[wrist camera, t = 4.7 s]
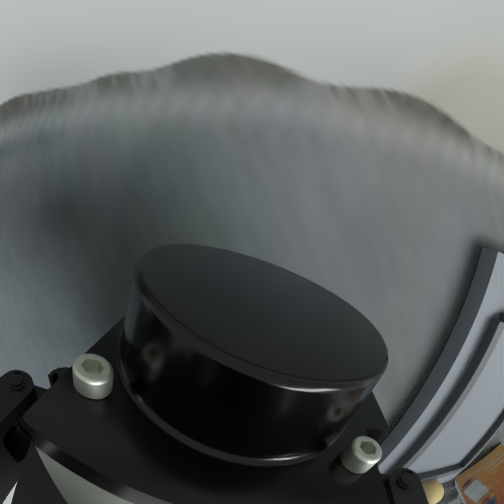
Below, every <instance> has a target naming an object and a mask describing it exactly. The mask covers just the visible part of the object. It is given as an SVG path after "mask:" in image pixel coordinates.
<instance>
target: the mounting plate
mask: <svg viewBox="0 0 504 504" xmlns="http://www.w3.org/2000/svg"><path fill="white" fill-rule="evenodd" d="M503 425H504V254H502V253H500V252H498V251H496V250H492V249H489V248H486V247H482V251H481V255H480V258H479V262H478V265H477V268H476V271H475V275H474V278H473V281H472V284H471V286H470V289H469V292H468V295H467V297H466V300H465V303H464V305H463V308H462V310H461V313H460V315H459V317H458V320H457V322H456V324H455V327H454V329H453V331H452V333H451V335H450V337H449V340H448V342H447V344H446V346H445V348H444V350H443V352H442V354H441V356H440V357H439V359H438V361H437V363H436V365H435V367H434V368H433V370H432V372H431V374H430V375H429V377H428V379H427V381H426V382H425V384H424V386H423V387H422V389H421V390H420V392H419V394H418V395H417V397H416V398H415V400H414V401H413V403H412V404H411V406H410V407H409V409H408V410H407V412H406V413H405V414H404V416H403V417H402V419H401V420H400V421H399V423H398V424H397V425H396V427H395V428H394V429H393V431H392V432H391V433H390V434H389V436H388V437H387V438H386V439H385V441H384V442H383V443H382V444H381V446H380V447H381V449H382V456H381V459H380V460H379V461H378V462H377V465H378V468H379V471H380V473H381V474H386V475H390V474H391V473H392V472H393V471H394V470H395V469H398V468H408V469H410V470H413V471H414V472H415V473H416V474H417V475H418V476H419V478H420V480H421V483H422V486H423V488H424V491H425V494H426V497H427V500H428V503H429V504H436V503H437V502H439V501H440V500H441V499H442V497H443V494H444V489H443V486H442V484H441V483H444V482H447V481H450V480H452V479H453V478H455V477H456V476H457V475H458V474H459V473H460V472H461V471H462V470H463V469H465V468H466V467H467V466H468V465H469V464H470V463H471V462H472V461H473V460H474V459H475V458H476V457H477V456H478V455H479V454H480V452H481V451H482V450H483V449H484V448H485V447H486V446H487V445H488V443H489V442H490V441H491V440H492V439H493V437H494V436H495V435H496V434H497V432H498V431H499V430H500V429H501V427H502V426H503Z"/></svg>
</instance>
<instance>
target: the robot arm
mask: <svg viewBox="0 0 504 504" xmlns="http://www.w3.org/2000/svg"><path fill="white" fill-rule="evenodd" d="M68 369H69V368H67V367H63V368H57V369H55V370H53V371H52V372H51V373H50V374H49V375H48V377H49V381H50V385H51V386H52V385H53V384H54V383H55V382H56V381H57V380H58V379H59V378H60V377H61V376H62V375H63V374H64V373H65V372H66V371H67V370H68ZM46 391H47V389H44V388H41V387H38V386H35V385H34V383H33V380H32V378H31V377H30V375H29V374H28V373H26V372H24V371H20V370H12V371H9V372H7V373H5V374H4V375H3V376H2V377H0V504H2V503H3V502H4V500H5V499H6V497H7V496H8V494H9V493H10V491H11V490H12V488H13V487H14V485H15V484H16V482H17V481H18V482H17V485H16V488H15V492H14V495H13V499H12V503H11V504H67V502H66V501H65V499H64V498H63V496H62V494H61V493H60V491H59V490H58V488H57V486H56V485H55V483H54V481H53V480H52V478H51V476H50V474H49V473H48V471H47V469H46V467H45V465H44V463H43V461H42V459H41V457H40V455H39V453H38V451H37V449H36V447H35V445H34V443H33V441H32V438H31V436H30V434H29V431H28V429H27V426H26V424H25V421H24V418H23V417H24V414H25V413H26V412H27V411H28V410H29V408H30V407H31V406H32V405H33V404H34V403H35V402H36V401H37V400H38V399H39V398H40V397H41V396H42V395H43V394H44V393H45V392H46ZM380 474H381V473H380ZM381 477H382V480H383V483H384V486H385V490H386V493H387V496H388V499H389V503H390V504H429V503H428V500H427V497H426V494H425V491H424V488H423V486H422V483H421V480H420V478H419V476H418V475H417V474H416V473H415V472H414V471H413V470H410V469H408V468H398V469H395V470H394V471H393V472H392V473H391V474H390V475H386V474H381Z"/></svg>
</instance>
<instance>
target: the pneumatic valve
mask: <svg viewBox="0 0 504 504" xmlns="http://www.w3.org/2000/svg"><path fill="white" fill-rule="evenodd" d="M387 364H388V350H387V347H386V344H385V342H384V339H383V338H382V336H381V334H380V333H379V331H378V330H377V329H376V328H375V326H374V325H373V324H372V323H371V322H370V321H369V320H368V319H367V318H366V317H365V316H364V315H363V314H361V313H360V312H359V311H358V310H357V309H355V308H354V307H353V306H351V305H350V304H349V303H347V302H346V301H344V300H343V299H341V298H340V297H338V296H337V295H335V294H333V293H332V292H330V291H328V290H327V289H325V288H323V287H321V286H320V285H318V284H316V283H314V282H312V281H310V280H308V279H306V278H304V277H302V276H300V275H297V274H295V273H293V272H291V271H288V270H286V269H284V268H281V267H279V266H276V265H274V264H271V263H268V262H265V261H263V260H260V259H257V258H254V257H250V256H247V255H243V254H240V253H236V252H232V251H228V250H224V249H219V248H214V247H208V246H201V245H191V244H176V245H166V246H161V247H158V248H155V249H152V250H150V251H148V252H147V253H145V254H144V255H143V256H142V257H141V258H140V259H139V261H138V262H137V264H136V266H135V269H134V274H133V279H132V284H131V289H130V295H129V300H128V306H127V311H126V316H125V317H124V318H123V319H122V320H120V321H119V322H118V323H117V324H116V325H115V326H114V327H113V328H112V329H111V330H110V331H108V332H107V333H106V334H105V335H104V336H103V337H102V338H101V339H100V340H99V341H98V342H97V343H96V344H95V345H93V346H92V347H91V348H90V349H89V350H88V351H87V352H86V353H85V354H82V355H80V356H78V357H77V358H76V359H75V360H74V362H73V365H72V366H71V367H70V368H69V369H68V370H67V371H66V372H65V373H64V374H63V375H62V376H61V377H60V378H59V379H58V380H57V381H56V382H55V383H54V384H53V385H52V386H51V387H50V388H49V389H48V390H47V391H46V392H45V393H44V394H43V395H42V396H41V397H40V398H39V399H38V400H37V401H36V402H35V403H34V404H33V405H32V406H31V407H30V408H29V410H28V411H27V412H26V413H25V414H24V417H23V418H24V421H25V424H26V426H27V429H28V431H29V434H30V436H31V438H32V441H33V443H34V445H35V447H36V449H37V451H38V453H39V455H40V457H41V459H42V461H43V463H44V465H45V467H46V469H47V471H48V473H49V474H50V476H51V478H52V480H53V481H54V483H55V485H56V486H57V488H58V490H59V491H60V493H61V494H62V496H63V498H64V499H65V501H66V502H67V504H390V503H389V499H388V496H387V493H386V490H385V486H384V483H383V480H382V477H381V474H380V471H379V468H378V465H377V462H378V461H379V460H380V459H381V456H382V449H381V447H380V445H379V444H378V443H377V442H376V441H377V440H378V439H379V438H380V437H381V436H382V435H383V434H384V433H385V432H386V431H387V430H388V425H387V423H386V420H385V418H384V416H383V414H382V412H381V409H380V407H379V405H378V403H377V401H376V399H375V397H374V394H373V392H372V390H373V388H374V387H375V385H376V384H377V382H378V381H379V380H380V378H381V377H382V375H383V374H384V372H385V370H386V368H387Z"/></svg>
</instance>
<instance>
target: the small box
mask: <svg viewBox="0 0 504 504" xmlns="http://www.w3.org/2000/svg"><path fill="white" fill-rule="evenodd" d="M455 486H456V489H457V491H458V493H459V496H460V498H461V500H462V503H463V504H504V445H503V444H502V443H501V444H499V445H498V446H497V447H496V448H495V449H494V450H493V451H491V452H490V453H489V454H488V455H486V456H485V457H484V458H483V459H481V460H480V461H479V462H477V463H476V464H474V465H473V466H471V467H470V468H468V469H467V470H465V471H464V472H462V473H461V474H459V475H458V476H456V477H455Z"/></svg>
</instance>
